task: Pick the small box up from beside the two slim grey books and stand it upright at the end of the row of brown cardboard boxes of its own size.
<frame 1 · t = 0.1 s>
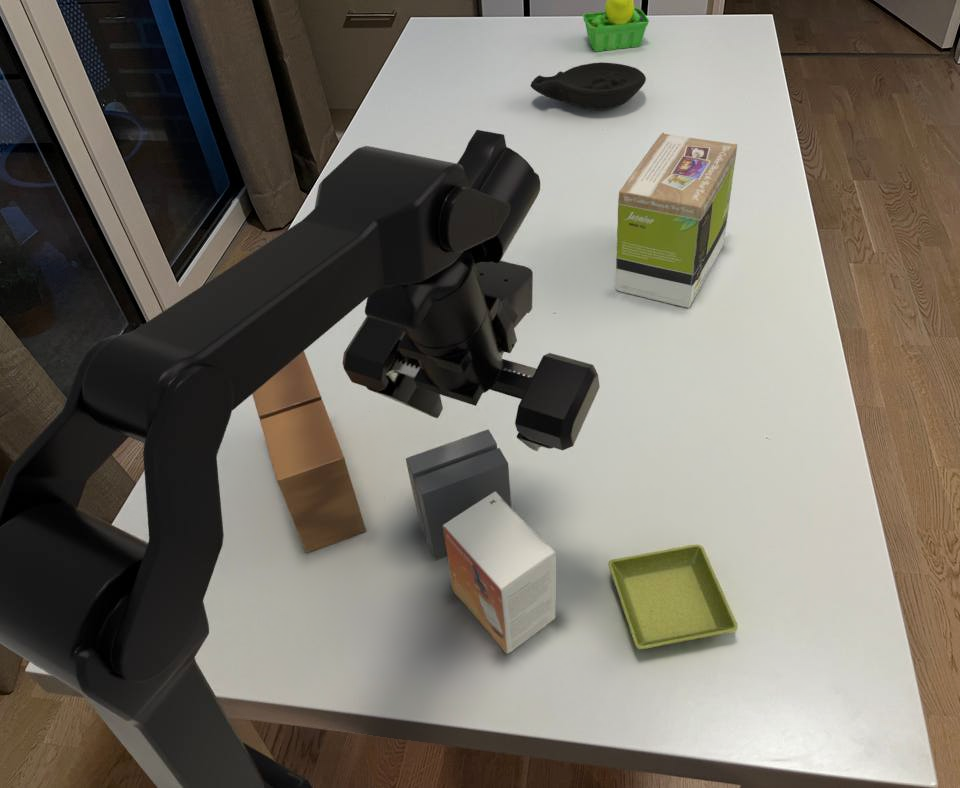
hand: (487, 428, 65), 15 cm above the table, tool pointing down, fingers open, 9 cm apart
green square tray: (668, 607, 69), on the table
grey books: (466, 527, 76), on the table
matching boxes: (317, 483, 82), on the table
fruit basket: (615, 46, 155), on the table
oil lamp: (587, 103, 138), on the table
small box: (504, 606, 70), on the table
tea box: (669, 269, 103), on the table
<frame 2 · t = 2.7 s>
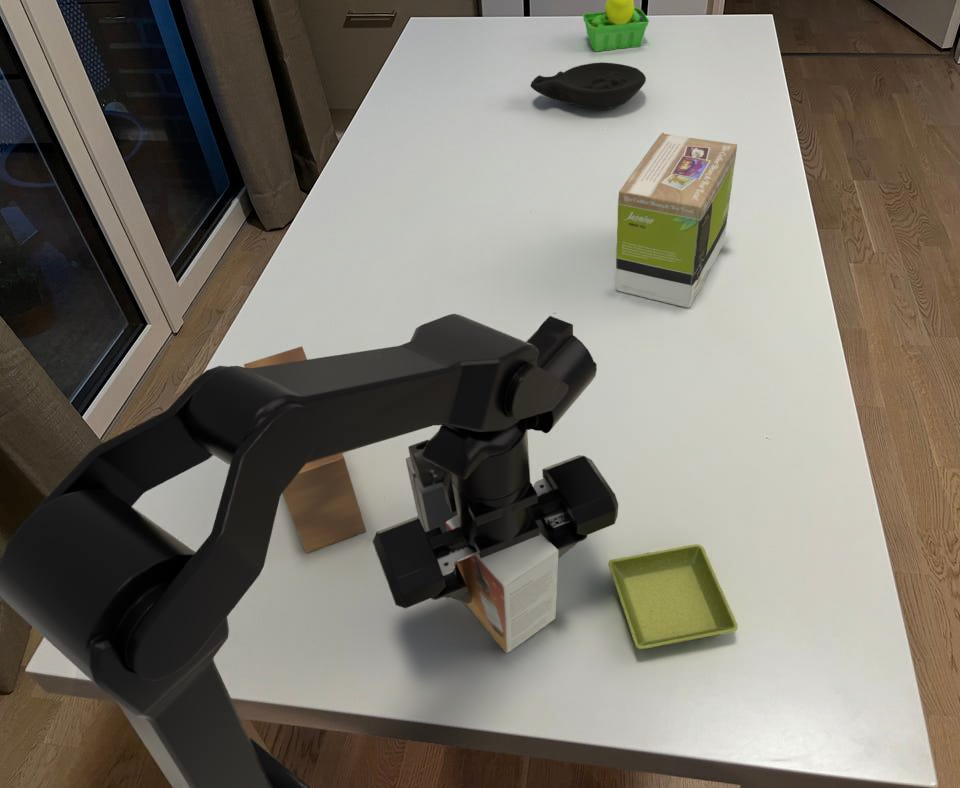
hand: (503, 583, 68), 3 cm above the table, tool pointing down, fingers closed on small box, 6 cm apart
small box: (504, 606, 70), on the table, touching gripper
everything else where it was.
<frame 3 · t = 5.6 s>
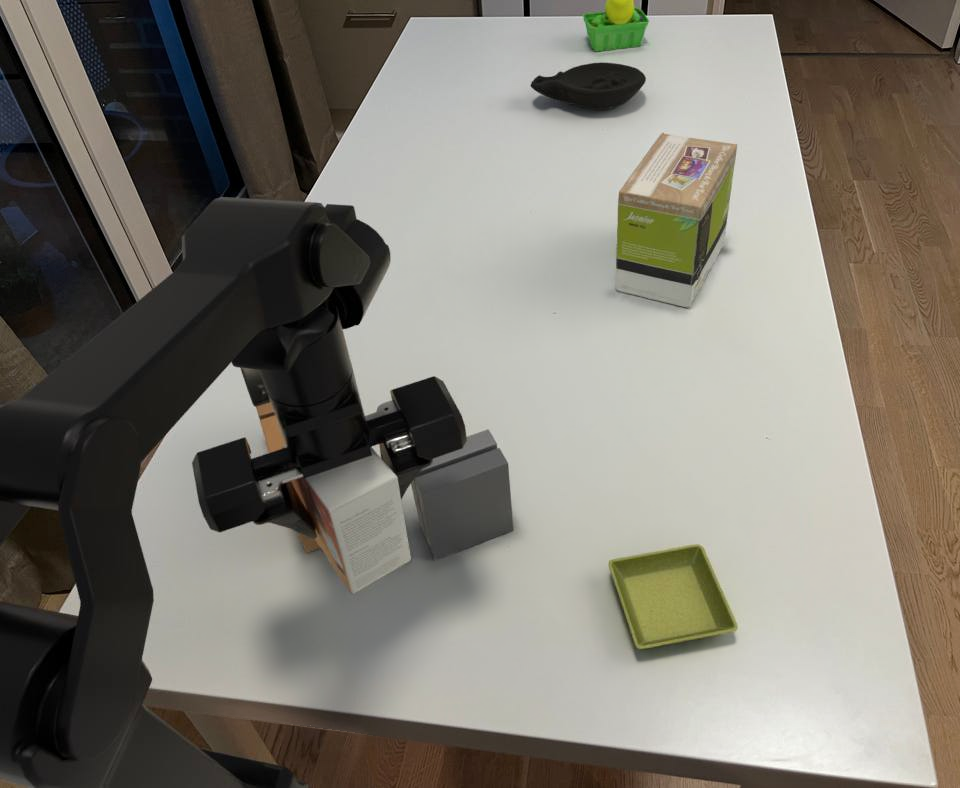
hand: (353, 519, 63), 13 cm above the table, tool pointing down, fingers closed on small box, 6 cm apart
small box: (359, 547, 65), point 9 cm above the table, touching gripper
everything else where it was.
when the fingers open (3 cm above the table, at t = 8.3 s): small box stays where it is, on the table.
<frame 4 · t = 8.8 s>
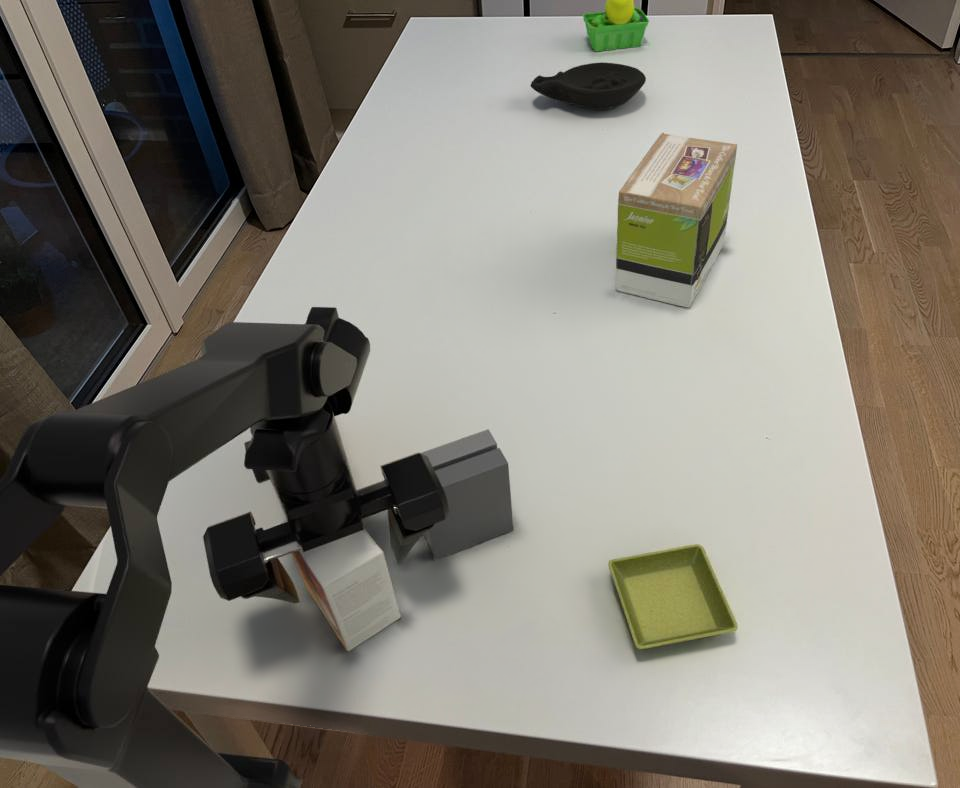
hand: (348, 578, 69), 4 cm above the table, tool pointing down, fingers open, 9 cm apart
small box: (354, 605, 72), on the table
everything else where it was.
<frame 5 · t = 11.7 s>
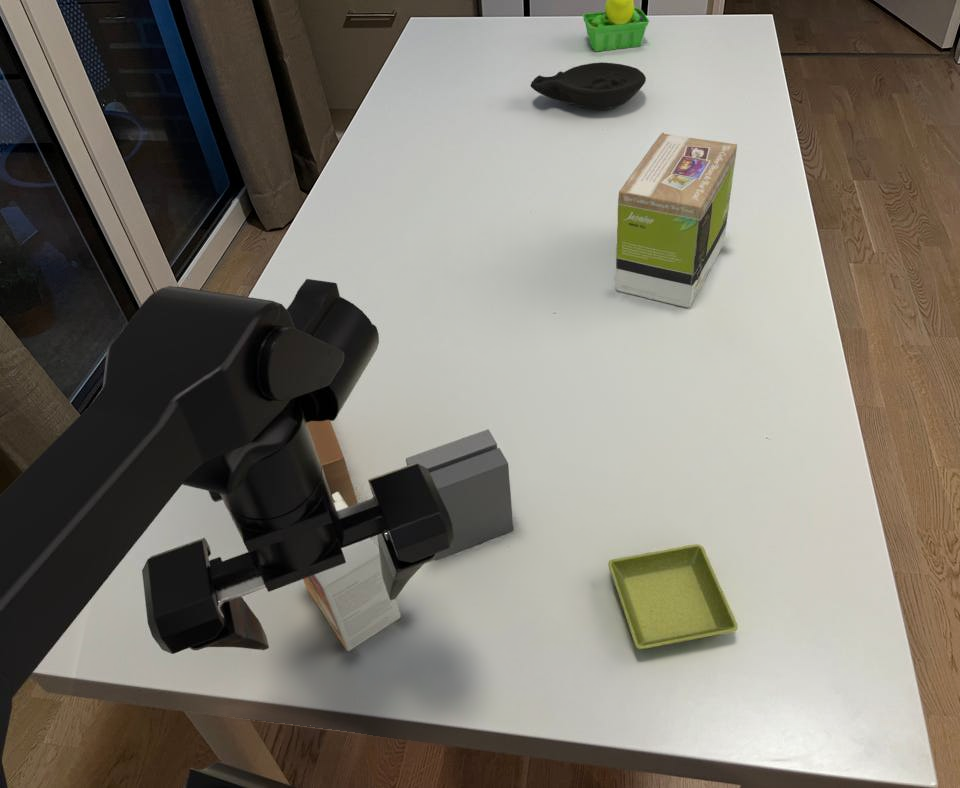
hand: (329, 618, 56), 13 cm above the table, tool pointing down, fingers open, 9 cm apart
nothing on the table moved.
at the end: small box 0.4 cm from the target spot, on the table; small box tilted 0°; the gripper is holding nothing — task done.
